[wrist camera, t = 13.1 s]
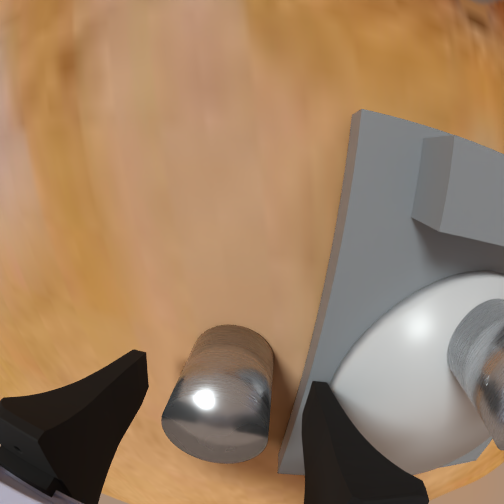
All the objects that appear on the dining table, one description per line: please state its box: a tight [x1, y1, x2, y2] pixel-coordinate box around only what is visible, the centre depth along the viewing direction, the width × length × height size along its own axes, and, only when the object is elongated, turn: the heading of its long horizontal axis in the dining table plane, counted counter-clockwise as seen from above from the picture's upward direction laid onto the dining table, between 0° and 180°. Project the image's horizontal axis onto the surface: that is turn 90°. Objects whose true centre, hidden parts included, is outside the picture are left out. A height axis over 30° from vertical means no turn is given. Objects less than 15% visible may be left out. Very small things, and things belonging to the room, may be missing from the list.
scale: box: [278, 109, 504, 475], centre depth 12 cm, size 15×19×4 cm
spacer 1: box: [161, 325, 274, 464], centre depth 13 cm, size 4×4×5 cm
